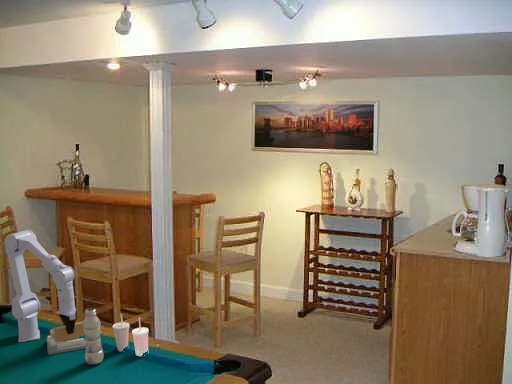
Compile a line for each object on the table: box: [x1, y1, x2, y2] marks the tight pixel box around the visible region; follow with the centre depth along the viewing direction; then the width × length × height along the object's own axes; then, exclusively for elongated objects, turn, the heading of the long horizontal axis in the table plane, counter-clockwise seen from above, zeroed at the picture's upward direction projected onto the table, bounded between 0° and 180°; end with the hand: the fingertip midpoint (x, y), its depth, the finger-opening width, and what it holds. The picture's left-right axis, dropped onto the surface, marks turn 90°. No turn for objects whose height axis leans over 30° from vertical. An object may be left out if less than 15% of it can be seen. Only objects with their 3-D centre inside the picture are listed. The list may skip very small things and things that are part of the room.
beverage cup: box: [131, 316, 149, 357], centre depth 212 cm, size 6×6×14 cm
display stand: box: [46, 335, 86, 356], centre depth 224 cm, size 14×17×3 cm
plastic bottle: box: [82, 307, 104, 366], centre depth 205 cm, size 6×7×20 cm
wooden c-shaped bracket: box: [49, 320, 84, 342], centre depth 224 cm, size 8×12×5 cm, turn 123°
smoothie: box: [112, 313, 131, 353], centre depth 216 cm, size 6×6×14 cm
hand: (69, 332), depth 222 cm, fingers closed on wooden c-shaped bracket, 2 cm apart
